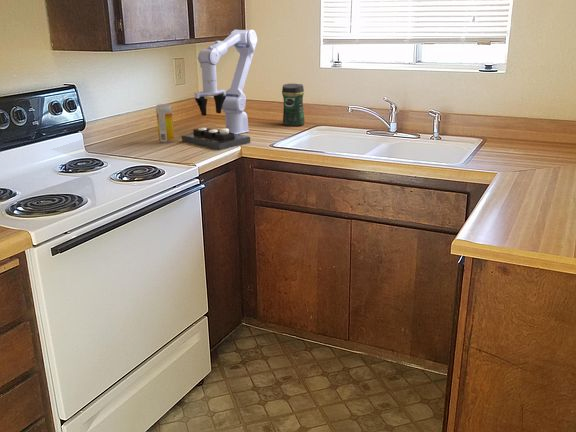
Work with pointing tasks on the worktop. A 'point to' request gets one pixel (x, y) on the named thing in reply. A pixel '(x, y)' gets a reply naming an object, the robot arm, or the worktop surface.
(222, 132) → the button
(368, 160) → the worktop surface
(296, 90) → the coffee jar
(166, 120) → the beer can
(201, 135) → the push button control box
